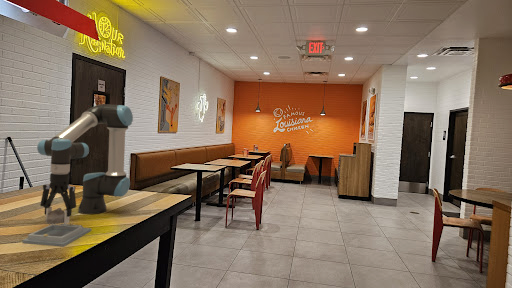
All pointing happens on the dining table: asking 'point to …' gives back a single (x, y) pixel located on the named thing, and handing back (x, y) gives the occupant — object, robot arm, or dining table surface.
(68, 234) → the bracket board
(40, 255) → the dining table surface
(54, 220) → the stone
